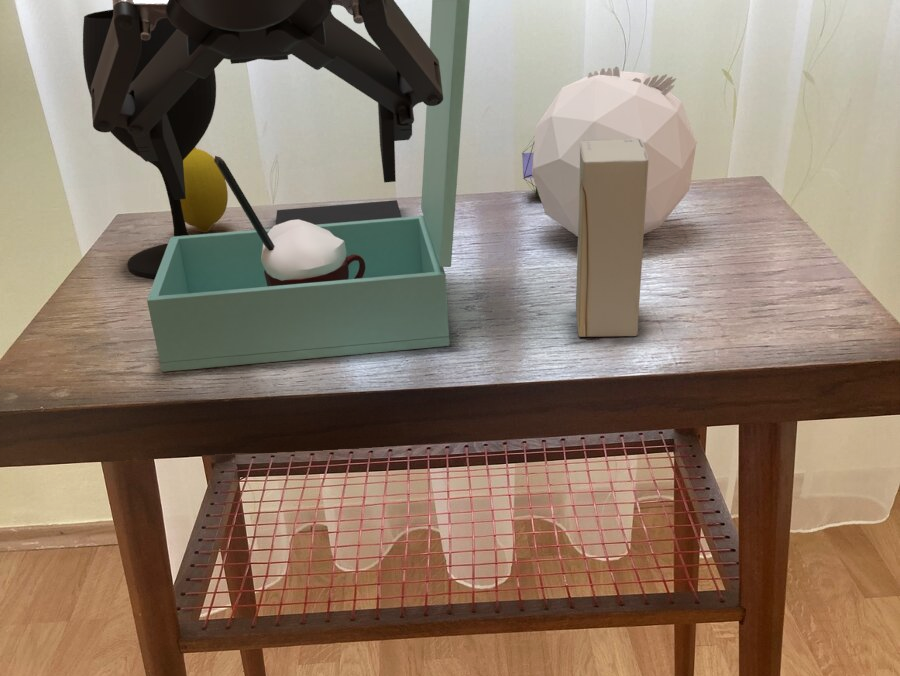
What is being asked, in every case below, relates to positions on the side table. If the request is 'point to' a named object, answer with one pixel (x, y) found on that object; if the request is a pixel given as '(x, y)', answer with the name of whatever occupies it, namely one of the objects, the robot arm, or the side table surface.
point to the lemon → (203, 191)
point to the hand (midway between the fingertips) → (283, 172)
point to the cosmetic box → (610, 236)
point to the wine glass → (183, 116)
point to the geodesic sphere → (606, 118)
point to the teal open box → (297, 299)
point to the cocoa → (296, 247)
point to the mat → (341, 213)
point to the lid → (444, 125)
